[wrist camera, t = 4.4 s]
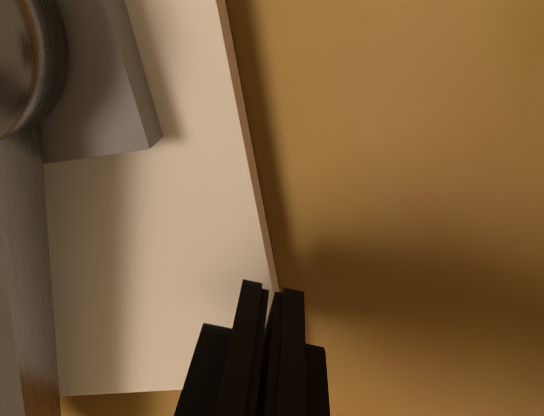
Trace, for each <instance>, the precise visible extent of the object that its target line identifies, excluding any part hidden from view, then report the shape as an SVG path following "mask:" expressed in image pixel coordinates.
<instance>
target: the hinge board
mask: <svg viewBox="0 0 544 416" xmlns="http://www.w3.org/2000/svg"><path fill="white" fill-rule="evenodd" d="M56 1H57V3H58V5H59V8H60V11H61V14H62V17H63V20H64V24H65V29H66V34H67V38H68V48H69V69H68V75H67V81H66V84H65V88H64V91H63V94H62V96H61V98H60V100H59V102H58V104H57V106H56V107H55V108H54V110H53V111H52V113H51V114H50V115H49V116H48V117H47V118H46V119H45V120H44V121H43V122H42V123H40V130H41V144H42V157H43V171H44V185H45V199H46V213H47V227H48V241H49V255H50V269H51V283H52V297H53V311H54V325H55V339H56V353H57V366H58V380H59V394H60V397H63V396H80V395H97V394H114V393H131V392H148V391H165V390H182V388H183V385H184V382H185V379H186V376H187V373H188V369H189V366H190V363H191V360H192V357H193V353H194V350H195V347H196V344H197V341H198V338H199V334H200V331H201V328H202V325H203V323H207V324H212V325H217V326H222V327H227V328H232V327H233V323H234V318H235V313H236V309H237V304H238V300H239V295H240V290H241V286H242V281H243V279H245V280H250V281H254V282H259V283H262V289H266V290H269V297H268V306H267V315H266V323H267V319H268V315H269V312H270V308H271V304H272V300H273V297H274V293H275V291H276V292H280V291H279V286H278V281H277V275H276V270H275V265H274V259H273V254H272V249H271V243H270V238H269V233H268V227H267V222H266V217H265V211H264V206H263V201H262V195H261V190H260V184H259V179H258V174H257V168H256V163H255V158H254V152H253V147H252V142H251V136H250V131H249V126H248V120H247V115H246V110H245V104H244V99H243V94H242V88H241V83H240V77H239V72H238V67H237V61H236V56H235V51H234V45H233V40H232V35H231V29H230V24H229V19H228V13H227V8H226V3H225V0H56ZM265 327H266V324H265Z"/></svg>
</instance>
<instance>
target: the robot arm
mask: <svg viewBox="0 0 544 416" xmlns="http://www.w3.org/2000/svg"><path fill="white" fill-rule="evenodd" d="M268 297H269V290H266V289H262V283H259V282H254V281H250V280H245V279H243V281H242V286H241V290H240V295H239V300H238V304H237V309H236V313H235V318H234V323H233V327H232V328H227V327H222V326H217V325H212V324H207V323H203V325H202V328H201V331H200V334H199V338H198V341H197V344H196V347H195V350H194V353H193V357H192V360H191V363H190V366H189V369H188V373H187V376H186V379H185V382H184V385H183V388H182V392H181V395H180V398H179V401H178V404H177V407H176V411H175V414H174V416H330V408H329V394H328V381H327V367H326V354H325V349H324V347H319V346H315V345H310V344H305V312H304V292H302V291H297V290H293V289H288V288H283V291H282V293H280V292H276V291H275V293H274V297H273V300H272V304H271V308H270V312H269V315H268V319H267V323H266V315H267V306H268ZM265 324H266V327H265Z"/></svg>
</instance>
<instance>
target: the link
mask: <svg viewBox="0 0 544 416" xmlns="http://www.w3.org/2000/svg"><path fill="white" fill-rule="evenodd" d="M68 69H69V48H68V38H67V34H66V29H65V24H64V20H63V17H62V14H61V11H60V8H59V5H58V3H57V1H56V0H0V416H61V408H60V394H59V380H58V366H57V353H56V339H55V325H54V311H53V297H52V283H51V269H50V255H49V241H48V227H47V213H46V199H45V185H44V171H43V157H42V144H41V130H40V123H42V122H43V121H44V120H45V119H46V118H47V117H48V116H49V115H50V114H51V113H52V111H53V110H54V108H55V107H56V106H57V104H58V102H59V100H60V98H61V96H62V94H63V91H64V88H65V84H66V81H67V75H68Z"/></svg>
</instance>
